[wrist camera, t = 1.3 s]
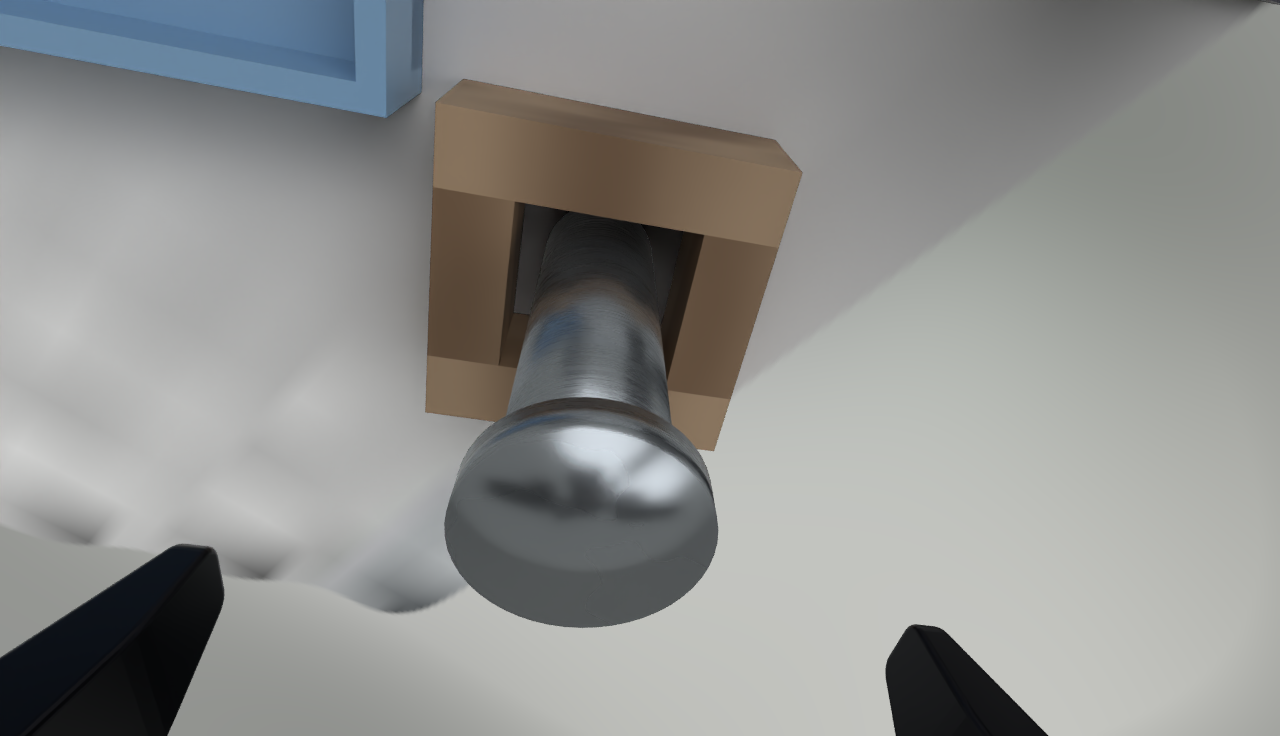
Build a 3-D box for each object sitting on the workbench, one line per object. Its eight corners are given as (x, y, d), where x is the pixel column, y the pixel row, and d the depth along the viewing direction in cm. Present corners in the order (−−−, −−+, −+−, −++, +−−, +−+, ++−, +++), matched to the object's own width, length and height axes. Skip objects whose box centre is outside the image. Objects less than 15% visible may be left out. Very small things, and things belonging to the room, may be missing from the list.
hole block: (775, 140, 18) (802, 172, 15) (702, 392, 22) (713, 451, 19) (463, 78, 17) (435, 102, 14) (449, 355, 21) (425, 412, 18)
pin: (683, 200, 18) (750, 452, 9) (653, 328, 20) (684, 638, 11) (536, 173, 18) (450, 412, 9) (521, 307, 20) (439, 614, 11)
